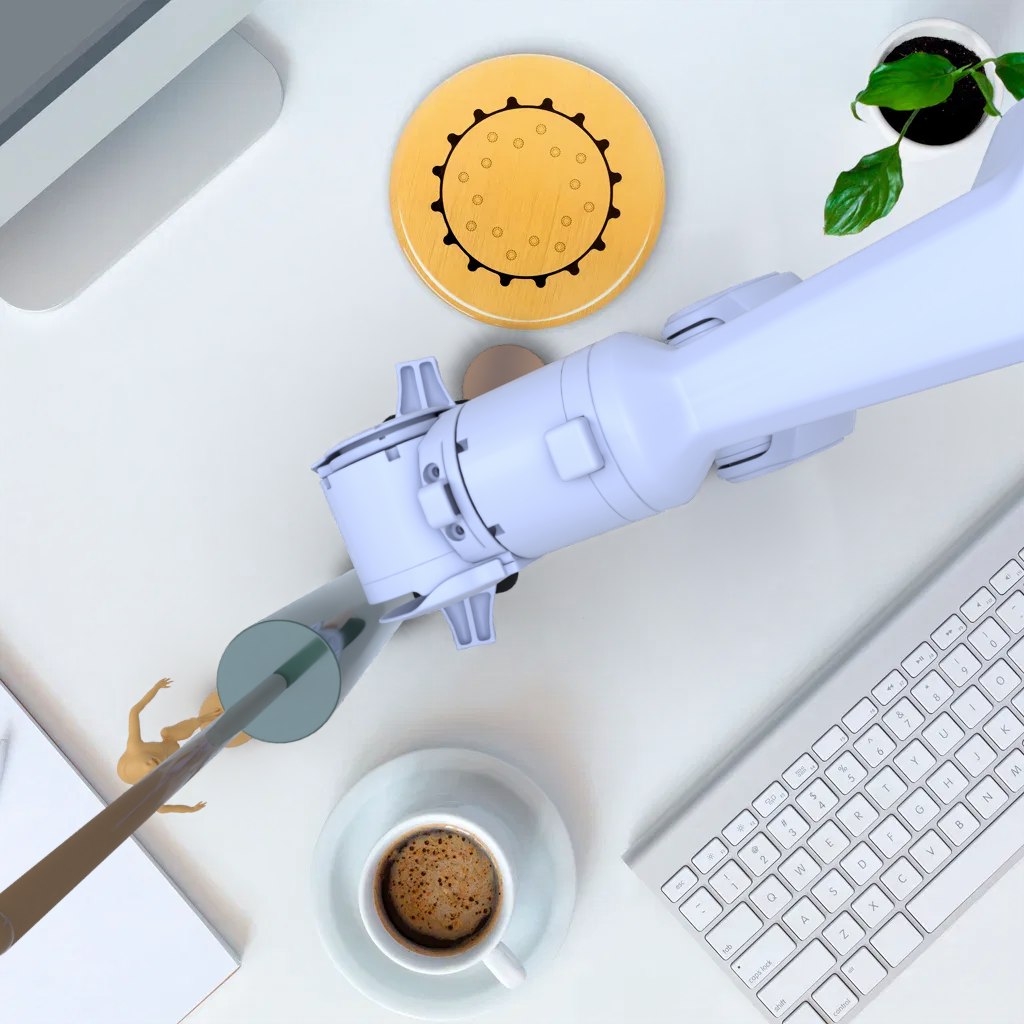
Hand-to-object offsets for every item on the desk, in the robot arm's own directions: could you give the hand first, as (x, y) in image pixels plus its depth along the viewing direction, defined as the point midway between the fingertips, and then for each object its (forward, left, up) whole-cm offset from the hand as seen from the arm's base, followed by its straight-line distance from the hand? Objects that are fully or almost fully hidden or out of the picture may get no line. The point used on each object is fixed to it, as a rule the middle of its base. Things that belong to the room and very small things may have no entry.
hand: (455, 500), depth 56 cm
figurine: (+19, +11, -9) cm, 24 cm away
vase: (+7, +5, -8) cm, 12 cm away
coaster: (-4, -6, -8) cm, 12 cm away
